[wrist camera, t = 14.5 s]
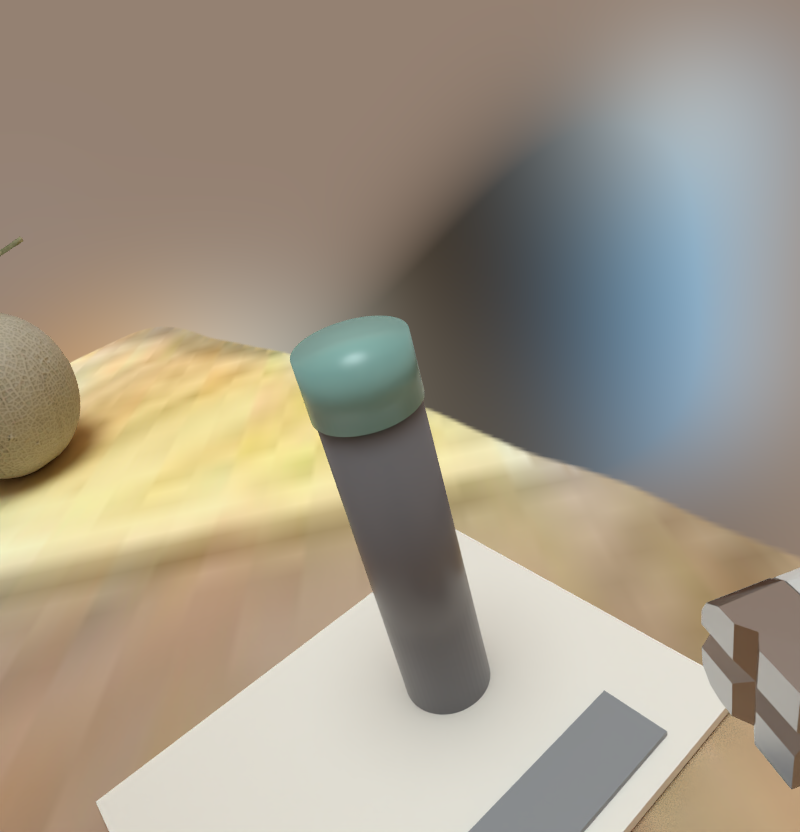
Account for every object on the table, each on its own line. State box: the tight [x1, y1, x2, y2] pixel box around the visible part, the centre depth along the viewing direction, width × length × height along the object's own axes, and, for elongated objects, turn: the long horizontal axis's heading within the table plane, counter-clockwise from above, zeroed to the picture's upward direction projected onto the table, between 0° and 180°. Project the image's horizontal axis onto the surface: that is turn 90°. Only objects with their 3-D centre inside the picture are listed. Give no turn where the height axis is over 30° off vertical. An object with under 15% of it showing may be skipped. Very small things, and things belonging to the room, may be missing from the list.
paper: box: [96, 529, 729, 832], centre depth 25 cm, size 14×18×1 cm
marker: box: [290, 316, 490, 715], centre depth 23 cm, size 3×3×14 cm
